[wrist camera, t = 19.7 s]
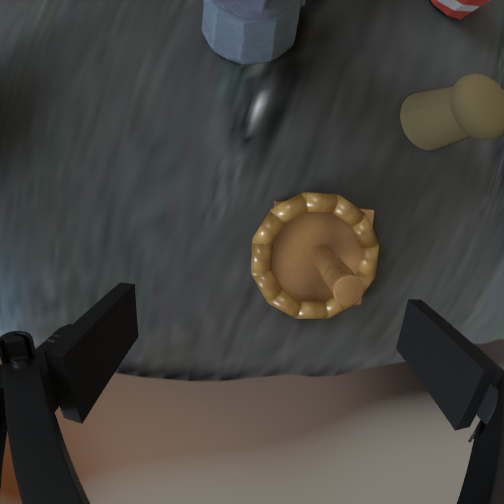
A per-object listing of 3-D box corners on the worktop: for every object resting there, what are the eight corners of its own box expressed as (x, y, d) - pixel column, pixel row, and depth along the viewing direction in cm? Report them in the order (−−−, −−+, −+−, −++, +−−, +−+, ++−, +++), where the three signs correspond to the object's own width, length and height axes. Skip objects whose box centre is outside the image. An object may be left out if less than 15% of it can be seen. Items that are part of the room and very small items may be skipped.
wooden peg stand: (267, 296, 30) (271, 351, 20) (274, 200, 28) (284, 212, 18) (357, 300, 30) (396, 351, 20) (370, 209, 28) (422, 225, 18)
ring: (250, 313, 30) (249, 320, 28) (253, 189, 27) (253, 190, 25) (366, 314, 29) (371, 320, 28) (379, 196, 27) (385, 198, 25)
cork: (455, 111, 26) (524, 95, 15) (440, 161, 27) (512, 160, 16) (409, 81, 25) (471, 47, 15) (392, 132, 27) (456, 114, 16)
